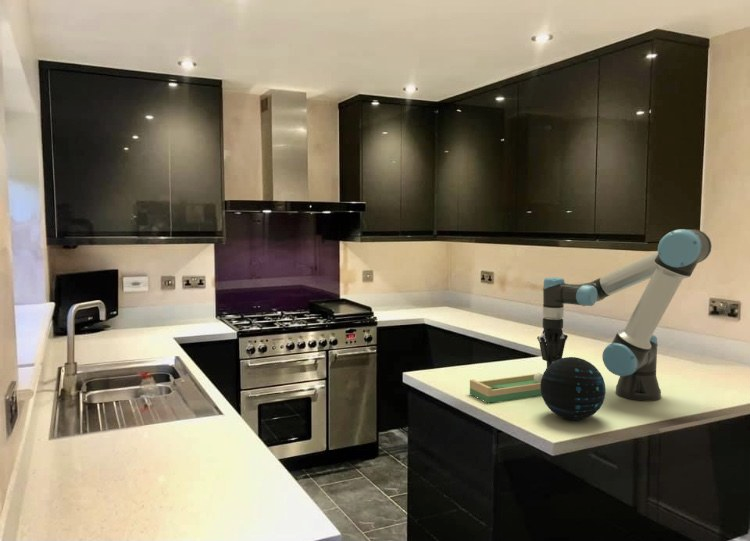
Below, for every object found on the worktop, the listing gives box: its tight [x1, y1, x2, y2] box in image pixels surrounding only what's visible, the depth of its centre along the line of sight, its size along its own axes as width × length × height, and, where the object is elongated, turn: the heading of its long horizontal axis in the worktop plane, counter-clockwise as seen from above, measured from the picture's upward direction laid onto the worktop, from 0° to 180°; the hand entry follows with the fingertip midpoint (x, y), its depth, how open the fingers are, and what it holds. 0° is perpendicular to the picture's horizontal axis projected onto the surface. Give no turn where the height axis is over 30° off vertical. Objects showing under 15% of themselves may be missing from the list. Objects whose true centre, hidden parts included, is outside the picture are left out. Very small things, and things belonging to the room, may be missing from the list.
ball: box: [534, 372, 543, 383], centre depth 216 cm, size 4×4×4 cm
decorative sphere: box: [540, 356, 607, 421], centre depth 184 cm, size 20×20×20 cm
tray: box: [469, 373, 542, 404], centre depth 212 cm, size 12×32×6 cm, turn 113°
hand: (551, 378), depth 219 cm, fingers closed
